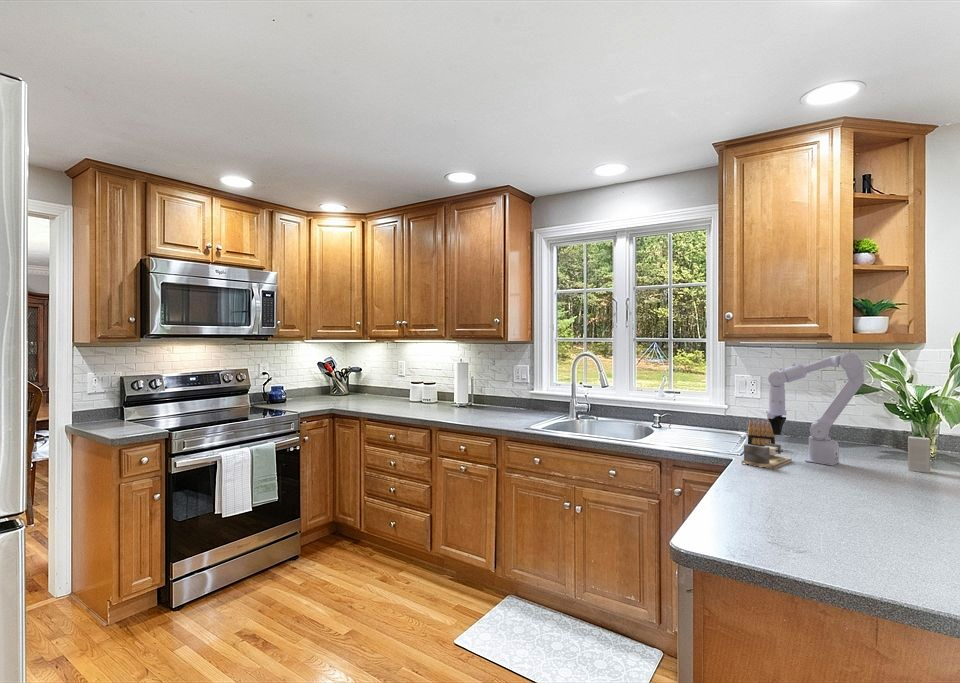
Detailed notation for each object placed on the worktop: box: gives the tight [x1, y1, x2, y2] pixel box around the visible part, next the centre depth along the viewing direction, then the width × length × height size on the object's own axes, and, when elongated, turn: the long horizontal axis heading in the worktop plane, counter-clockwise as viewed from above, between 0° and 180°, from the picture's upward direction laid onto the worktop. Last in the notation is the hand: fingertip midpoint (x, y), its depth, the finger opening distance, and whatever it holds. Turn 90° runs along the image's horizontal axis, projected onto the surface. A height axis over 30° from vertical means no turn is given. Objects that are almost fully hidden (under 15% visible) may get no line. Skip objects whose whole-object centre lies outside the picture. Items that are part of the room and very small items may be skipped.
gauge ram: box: [764, 442, 784, 456], centre depth 203 cm, size 8×8×4 cm
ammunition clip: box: [747, 419, 776, 446], centre depth 228 cm, size 11×2×12 cm, turn 56°
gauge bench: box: [741, 443, 793, 470], centre depth 200 cm, size 11×19×7 cm, turn 130°
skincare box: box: [907, 435, 931, 474], centre depth 186 cm, size 6×4×12 cm
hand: (777, 434), depth 209 cm, fingers closed
